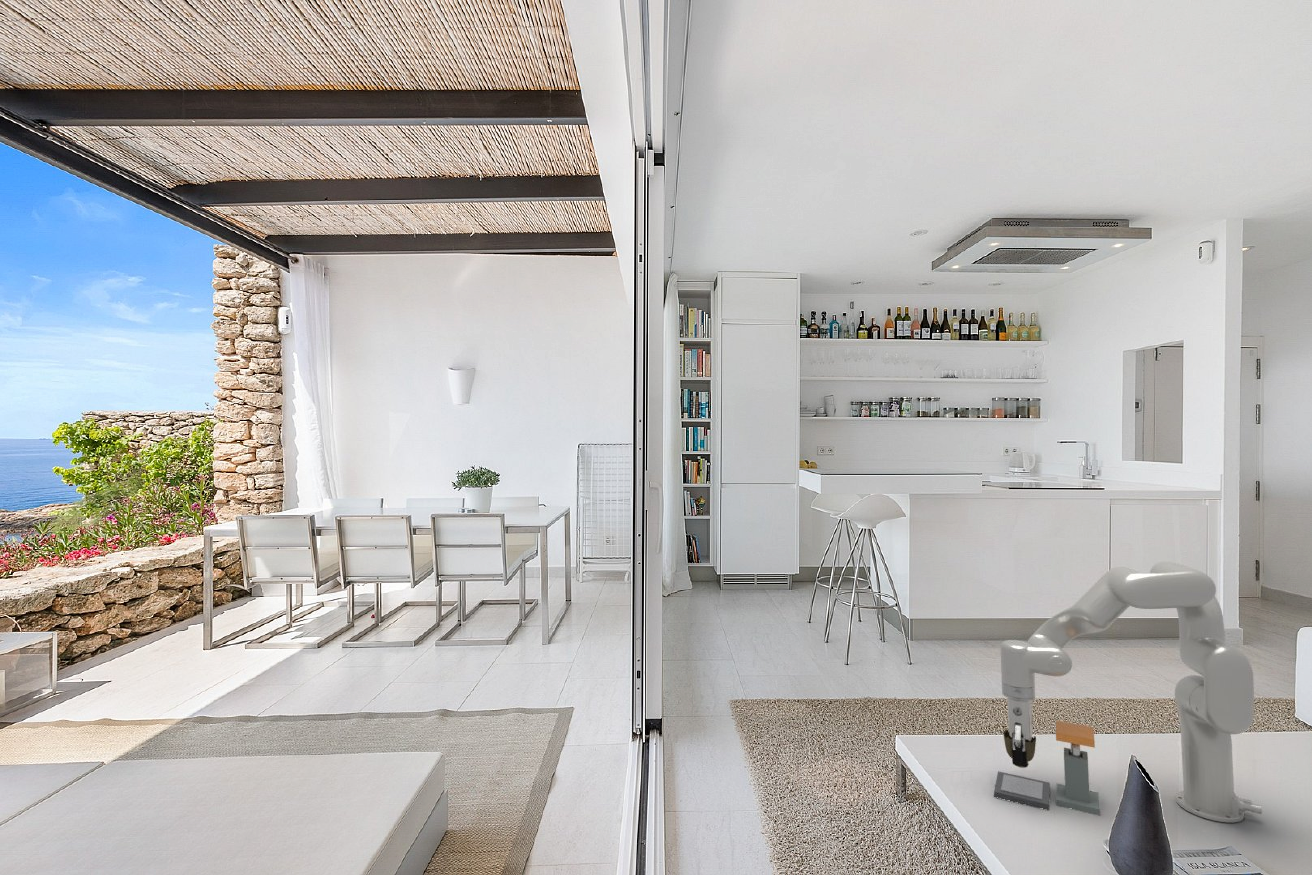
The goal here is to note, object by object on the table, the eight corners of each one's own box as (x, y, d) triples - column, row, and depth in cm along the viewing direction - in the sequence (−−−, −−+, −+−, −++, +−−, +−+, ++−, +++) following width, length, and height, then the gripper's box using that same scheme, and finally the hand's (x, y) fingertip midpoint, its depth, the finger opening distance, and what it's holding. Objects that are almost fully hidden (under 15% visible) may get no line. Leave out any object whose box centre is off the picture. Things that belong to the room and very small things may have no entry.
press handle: (1095, 774, 162) (1093, 726, 162) (1096, 789, 155) (1094, 739, 155) (1058, 767, 166) (1056, 720, 166) (1057, 780, 159) (1055, 732, 160)
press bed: (1050, 788, 167) (1049, 781, 167) (1049, 810, 157) (1048, 803, 157) (998, 776, 174) (998, 770, 174) (994, 797, 163) (993, 790, 164)
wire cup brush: (1043, 772, 162) (1042, 740, 162) (1013, 772, 162) (1012, 741, 162) (1026, 758, 169) (1025, 727, 169) (998, 758, 169) (997, 728, 170)
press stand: (1098, 798, 162) (1096, 750, 162) (1100, 815, 154) (1098, 765, 155) (1056, 788, 167) (1054, 742, 167) (1056, 805, 159) (1054, 756, 159)
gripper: (1033, 704, 157) (1036, 777, 156) (1036, 682, 171) (1038, 749, 171) (999, 698, 161) (1001, 770, 160) (1004, 677, 175) (1006, 743, 175)
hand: (1020, 758), depth 166 cm, fingers closed on wire cup brush, 6 cm apart
